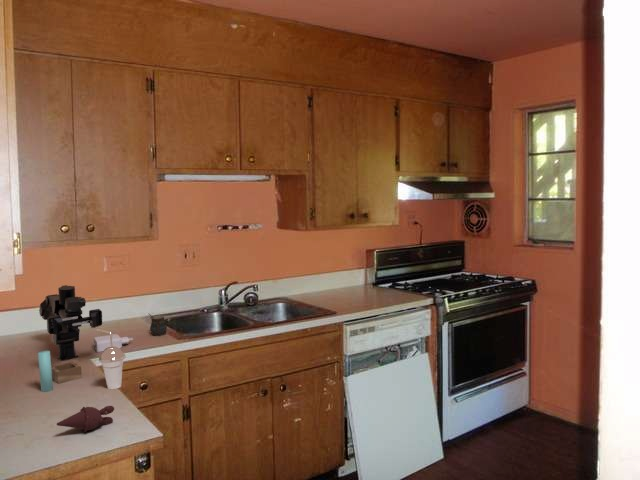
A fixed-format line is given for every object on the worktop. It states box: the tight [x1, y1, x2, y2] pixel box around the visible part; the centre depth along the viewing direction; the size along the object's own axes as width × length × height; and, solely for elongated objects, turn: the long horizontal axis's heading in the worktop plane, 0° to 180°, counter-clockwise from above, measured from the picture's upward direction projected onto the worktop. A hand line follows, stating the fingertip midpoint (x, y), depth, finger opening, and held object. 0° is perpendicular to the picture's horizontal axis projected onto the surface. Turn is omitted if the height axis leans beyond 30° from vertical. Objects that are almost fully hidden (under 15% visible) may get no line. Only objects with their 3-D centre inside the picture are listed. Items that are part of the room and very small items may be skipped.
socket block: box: [51, 361, 83, 385], centre depth 197 cm, size 8×8×4 cm
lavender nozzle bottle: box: [93, 333, 134, 354], centre depth 232 cm, size 5×9×15 cm
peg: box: [37, 350, 54, 393], centre depth 186 cm, size 4×4×13 cm
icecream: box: [56, 405, 115, 433], centre depth 155 cm, size 7×7×15 cm
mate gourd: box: [147, 312, 168, 337], centre depth 249 cm, size 7×8×10 cm
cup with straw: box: [95, 328, 126, 390], centre depth 187 cm, size 8×9×20 cm
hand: (81, 328), depth 199 cm, fingers open, 9 cm apart
